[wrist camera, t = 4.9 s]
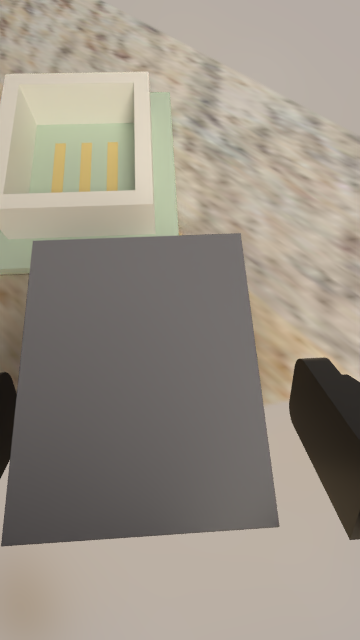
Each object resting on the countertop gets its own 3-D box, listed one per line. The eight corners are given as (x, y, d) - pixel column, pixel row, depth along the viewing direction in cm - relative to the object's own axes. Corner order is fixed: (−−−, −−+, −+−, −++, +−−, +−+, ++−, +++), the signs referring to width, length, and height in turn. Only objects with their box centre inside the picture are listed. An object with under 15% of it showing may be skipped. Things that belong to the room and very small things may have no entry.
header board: (-14, 275, 17) (-52, 243, 14) (11, 104, 21) (-14, 52, 18) (180, 267, 17) (181, 235, 14) (169, 101, 21) (169, 50, 18)
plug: (114, 471, 14) (-3, 550, 5) (115, 355, 16) (30, 238, 6) (209, 465, 14) (283, 530, 5) (201, 351, 16) (242, 231, 6)
